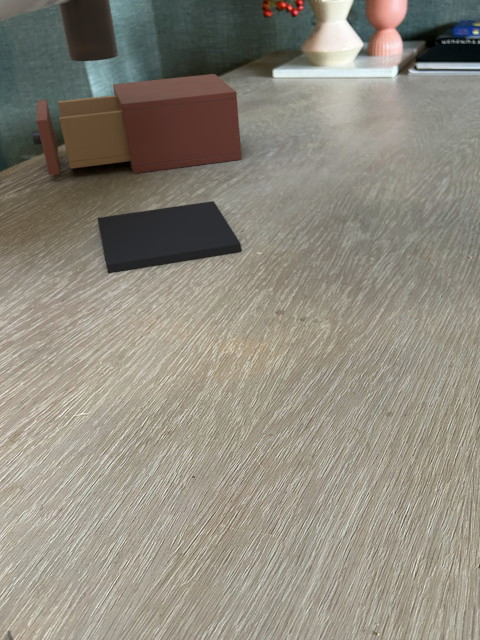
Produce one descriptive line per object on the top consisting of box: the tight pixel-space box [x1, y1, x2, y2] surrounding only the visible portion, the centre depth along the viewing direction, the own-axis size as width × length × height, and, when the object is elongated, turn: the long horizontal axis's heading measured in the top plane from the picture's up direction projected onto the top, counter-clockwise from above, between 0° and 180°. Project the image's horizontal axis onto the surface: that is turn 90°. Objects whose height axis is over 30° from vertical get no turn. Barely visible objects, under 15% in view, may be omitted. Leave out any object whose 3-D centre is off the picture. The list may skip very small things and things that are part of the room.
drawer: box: [30, 94, 131, 176], centre depth 84 cm, size 14×11×6 cm
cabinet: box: [112, 73, 242, 175], centre depth 86 cm, size 14×13×8 cm
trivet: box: [97, 200, 242, 274], centre depth 64 cm, size 12×12×1 cm
